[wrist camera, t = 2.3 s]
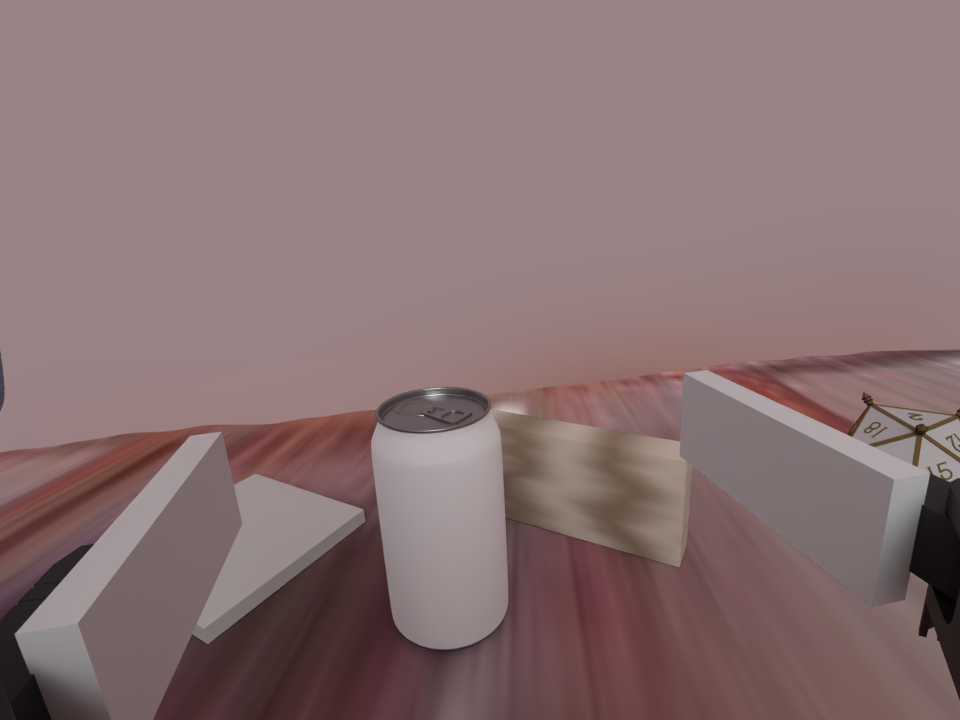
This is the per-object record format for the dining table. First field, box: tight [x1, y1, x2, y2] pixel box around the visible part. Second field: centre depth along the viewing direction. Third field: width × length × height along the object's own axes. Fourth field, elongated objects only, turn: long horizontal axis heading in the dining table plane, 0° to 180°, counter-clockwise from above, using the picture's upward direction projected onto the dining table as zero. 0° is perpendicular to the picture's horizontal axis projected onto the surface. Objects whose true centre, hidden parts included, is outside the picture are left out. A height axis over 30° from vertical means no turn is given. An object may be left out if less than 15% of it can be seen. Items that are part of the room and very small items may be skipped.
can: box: [371, 387, 508, 651], centre depth 26 cm, size 6×6×12 cm
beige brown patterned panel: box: [490, 409, 692, 568], centre depth 35 cm, size 21×2×7 cm, turn 60°
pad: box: [192, 474, 365, 644], centre depth 34 cm, size 12×12×1 cm
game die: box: [847, 392, 960, 482], centre depth 33 cm, size 9×8×10 cm
